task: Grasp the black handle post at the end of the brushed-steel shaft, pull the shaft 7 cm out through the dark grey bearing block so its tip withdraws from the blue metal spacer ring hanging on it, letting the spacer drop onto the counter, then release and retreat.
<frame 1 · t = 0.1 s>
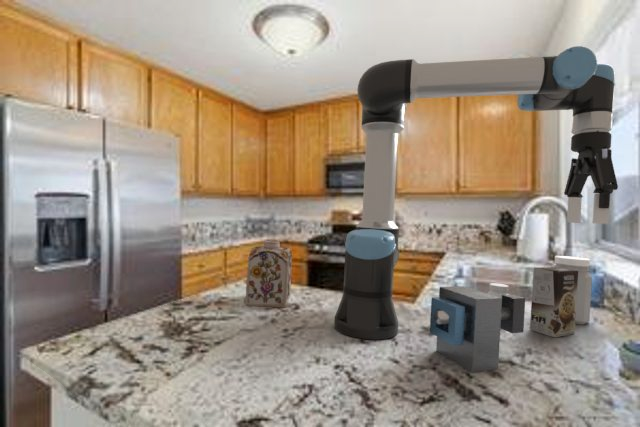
hand: (585, 223, 83), 28 cm above the countertop, fingers open, 13 cm apart
spacer: (445, 338, 67), point 4 cm above the countertop, touching shaft
bearing block: (465, 359, 68), on the countertop
shaft: (479, 315, 69), point 8 cm above the countertop, slide at 0.0 cm, touching spacer
jar: (568, 320, 101), on the countertop
pill bottle: (496, 321, 96), on the countertop
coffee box: (552, 332, 89), on the countertop
decorative jar: (268, 302, 103), on the countertop
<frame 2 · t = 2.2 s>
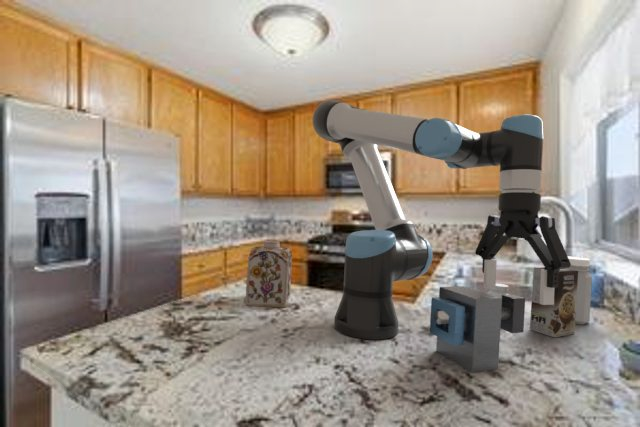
hand: (515, 296, 72), 12 cm above the countertop, fingers open, 13 cm apart
nothing on the countertop moved.
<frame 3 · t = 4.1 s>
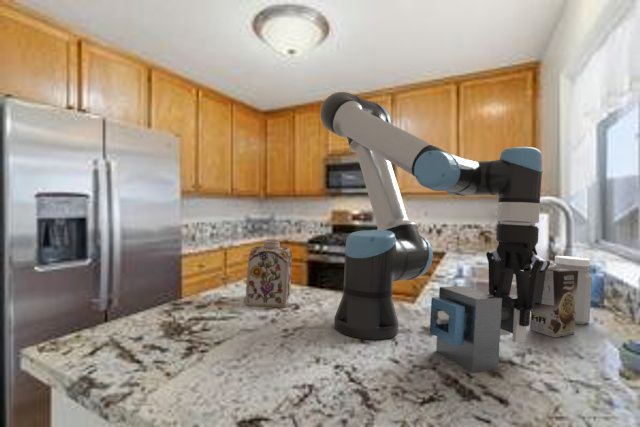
hand: (511, 337, 72), 4 cm above the countertop, fingers closed on shaft, 3 cm apart
shaft: (479, 315, 69), point 8 cm above the countertop, slide at 0.0 cm, touching gripper, spacer
everything else where it was.
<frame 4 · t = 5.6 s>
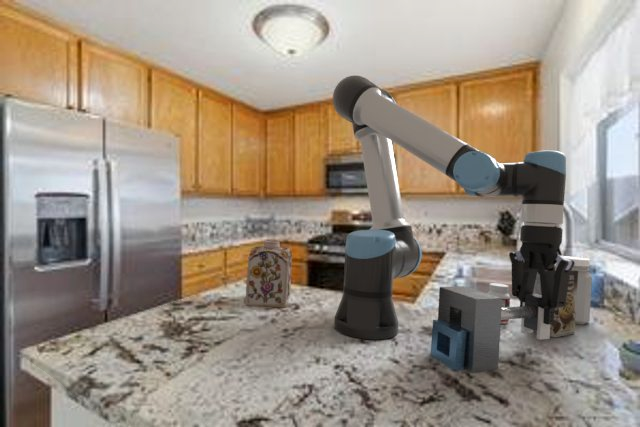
hand: (534, 335, 74), 4 cm above the countertop, fingers closed on shaft, 3 cm apart
spacer: (446, 361, 67), on the countertop
shaft: (505, 313, 72), point 8 cm above the countertop, slide at 6.6 cm, touching gripper
everything else where it was.
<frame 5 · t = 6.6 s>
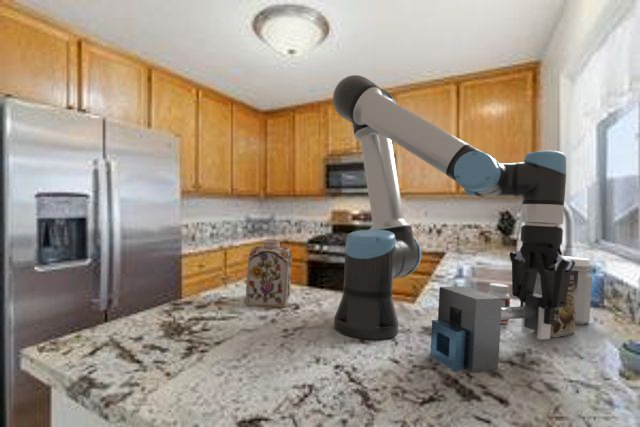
hand: (535, 335, 74), 4 cm above the countertop, fingers closed on shaft, 3 cm apart
shaft: (505, 313, 72), point 8 cm above the countertop, slide at 6.7 cm, touching gripper
everything else where it was.
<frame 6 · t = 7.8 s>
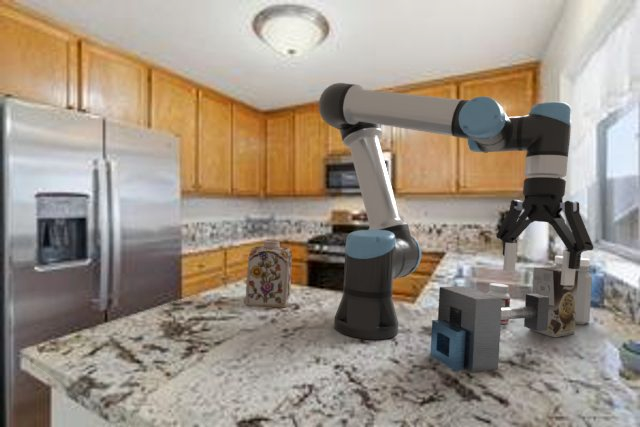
hand: (535, 277, 75), 16 cm above the countertop, fingers open, 13 cm apart
shaft: (505, 313, 72), point 8 cm above the countertop, slide at 6.7 cm
everything else where it was.
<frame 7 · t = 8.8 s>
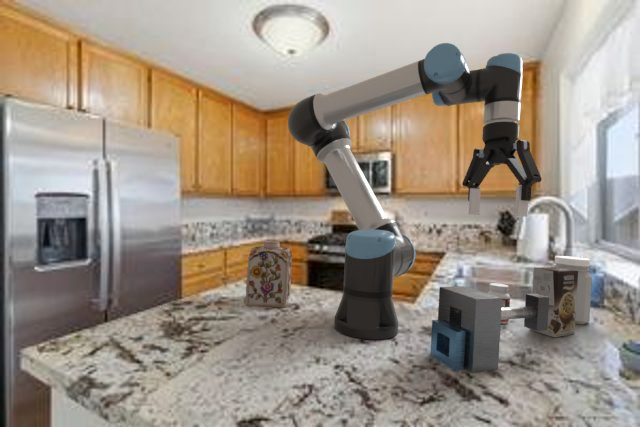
hand: (495, 215, 82), 29 cm above the countertop, fingers open, 13 cm apart
nothing on the countertop moved.
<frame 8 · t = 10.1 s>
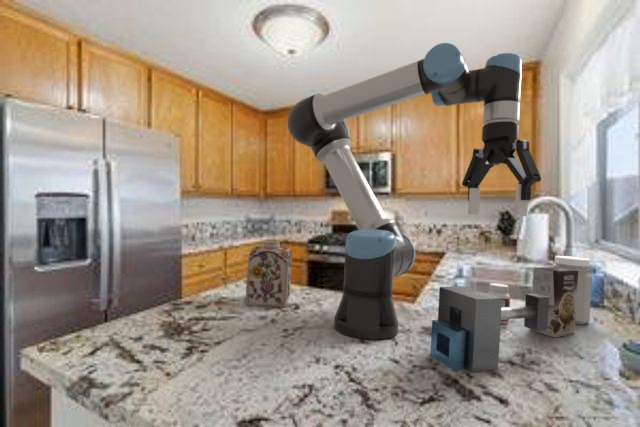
hand: (495, 215, 82), 29 cm above the countertop, fingers open, 13 cm apart
nothing on the countertop moved.
at the end: shaft slide at 6.7 cm; spacer on the countertop; spacer touching countertop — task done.
